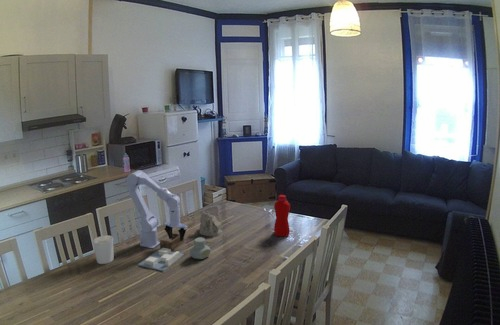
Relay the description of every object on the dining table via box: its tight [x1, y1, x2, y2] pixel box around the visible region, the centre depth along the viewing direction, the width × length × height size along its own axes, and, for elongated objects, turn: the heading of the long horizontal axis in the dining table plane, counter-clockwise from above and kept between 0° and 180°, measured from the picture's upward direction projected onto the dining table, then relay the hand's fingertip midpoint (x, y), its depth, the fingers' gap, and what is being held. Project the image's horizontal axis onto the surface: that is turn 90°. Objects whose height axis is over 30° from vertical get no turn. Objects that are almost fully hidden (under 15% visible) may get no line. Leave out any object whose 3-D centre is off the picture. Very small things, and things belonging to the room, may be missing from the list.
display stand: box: [137, 248, 185, 273], centre depth 178 cm, size 16×18×4 cm
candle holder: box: [92, 234, 115, 265], centre depth 178 cm, size 10×10×12 cm
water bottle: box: [273, 194, 293, 237], centre depth 207 cm, size 9×11×25 cm
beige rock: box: [199, 210, 223, 238], centre depth 214 cm, size 16×16×15 cm
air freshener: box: [189, 236, 211, 260], centre depth 181 cm, size 11×8×10 cm
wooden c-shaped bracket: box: [159, 231, 185, 252], centre depth 195 cm, size 8×12×5 cm, turn 158°
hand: (176, 239), depth 193 cm, fingers open, 7 cm apart
